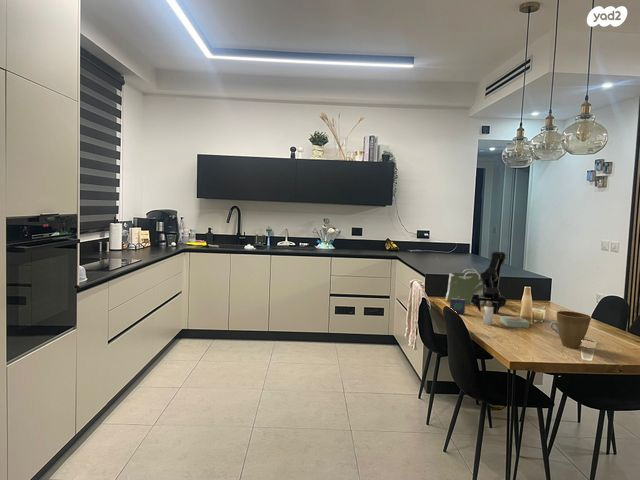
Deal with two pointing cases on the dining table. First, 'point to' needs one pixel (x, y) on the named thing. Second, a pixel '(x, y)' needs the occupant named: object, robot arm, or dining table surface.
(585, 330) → the plant pot
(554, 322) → the teacup
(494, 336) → the dining table surface
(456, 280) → the grocery bag
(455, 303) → the flask
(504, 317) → the stacking base
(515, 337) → the dining table surface
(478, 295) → the robot arm
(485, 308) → the cosmetic bottle
